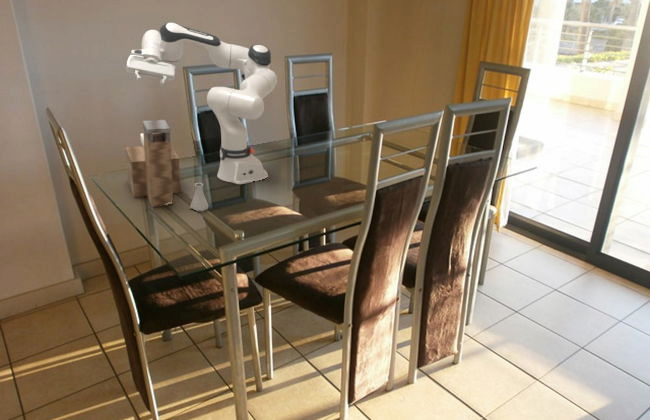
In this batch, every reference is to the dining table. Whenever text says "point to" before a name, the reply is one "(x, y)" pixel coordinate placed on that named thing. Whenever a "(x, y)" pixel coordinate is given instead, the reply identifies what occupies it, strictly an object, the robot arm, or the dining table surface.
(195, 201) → the flask
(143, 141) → the gauge bar
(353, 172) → the dining table surface
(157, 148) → the walnut holder
